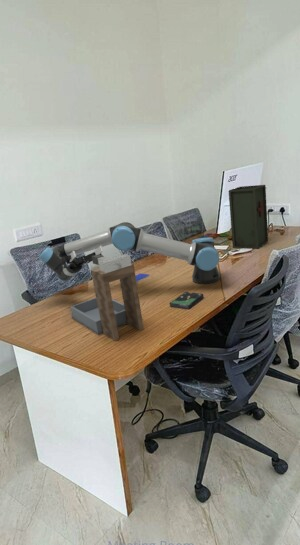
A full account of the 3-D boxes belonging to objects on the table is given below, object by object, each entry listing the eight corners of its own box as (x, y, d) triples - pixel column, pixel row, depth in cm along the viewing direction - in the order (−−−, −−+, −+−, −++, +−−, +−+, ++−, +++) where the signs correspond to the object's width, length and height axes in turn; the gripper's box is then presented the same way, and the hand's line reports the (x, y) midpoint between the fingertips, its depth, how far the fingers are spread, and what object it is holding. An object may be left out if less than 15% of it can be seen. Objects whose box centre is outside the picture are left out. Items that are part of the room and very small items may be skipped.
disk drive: (185, 296, 185) (169, 308, 173) (184, 291, 184) (169, 302, 172) (204, 298, 179) (189, 310, 167) (203, 293, 178) (188, 304, 166)
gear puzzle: (241, 236, 293) (240, 231, 291) (230, 241, 282) (230, 236, 280) (207, 235, 313) (207, 230, 312) (196, 240, 302) (196, 235, 301)
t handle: (83, 266, 155) (81, 257, 154) (108, 258, 162) (106, 250, 160) (105, 273, 140) (103, 263, 139) (131, 265, 146) (130, 255, 145)
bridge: (103, 333, 156) (90, 270, 148) (131, 322, 163) (120, 261, 155) (114, 340, 148) (102, 274, 140) (143, 328, 155) (133, 264, 147)
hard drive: (135, 280, 215) (149, 274, 224) (125, 279, 221) (139, 273, 229) (136, 283, 216) (149, 276, 225) (126, 282, 221) (139, 275, 230)
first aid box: (258, 248, 249) (254, 188, 238) (232, 248, 260) (228, 190, 249) (268, 242, 263) (265, 184, 251) (243, 241, 274) (239, 186, 263)
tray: (72, 318, 177) (69, 306, 175) (105, 306, 186) (103, 294, 184) (98, 334, 155) (95, 321, 153) (134, 320, 164) (132, 307, 163)
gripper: (97, 268, 190) (114, 253, 173) (51, 279, 176) (65, 264, 158) (92, 255, 191) (109, 239, 174) (46, 264, 177) (59, 248, 160)
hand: (88, 251), depth 166 cm, fingers open, 13 cm apart
